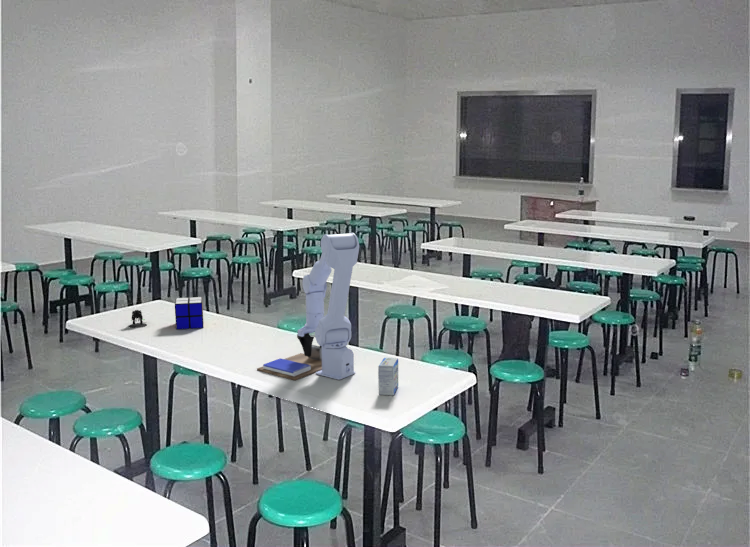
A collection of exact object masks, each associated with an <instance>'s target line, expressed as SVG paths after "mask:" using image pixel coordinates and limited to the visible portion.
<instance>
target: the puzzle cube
mask: <svg viewBox="0 0 750 547" xmlns="http://www.w3.org/2000/svg"><path fill="white" fill-rule="evenodd" d="M203 304H204V303H203V297H201V296H198V297H197V296H196V297H177V298H175V301H174V314H175V315H174V316H175V330H193V329H204V310H203V309H204V308H203V307H204V306H203Z"/></svg>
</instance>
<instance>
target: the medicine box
mask: <svg viewBox="0 0 750 547" xmlns="http://www.w3.org/2000/svg"><path fill="white" fill-rule="evenodd" d="M377 367H378V371H377V375H378V376H377V377H378V378H377V379H378V383H377V384H378V385H377V386H378V395H380V396H394V395H395V393H396V391H397V390H398V388H399V358H397V357H384V358H383V359H382V360H381V362H380V363H379V365H378V366H377Z"/></svg>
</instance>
